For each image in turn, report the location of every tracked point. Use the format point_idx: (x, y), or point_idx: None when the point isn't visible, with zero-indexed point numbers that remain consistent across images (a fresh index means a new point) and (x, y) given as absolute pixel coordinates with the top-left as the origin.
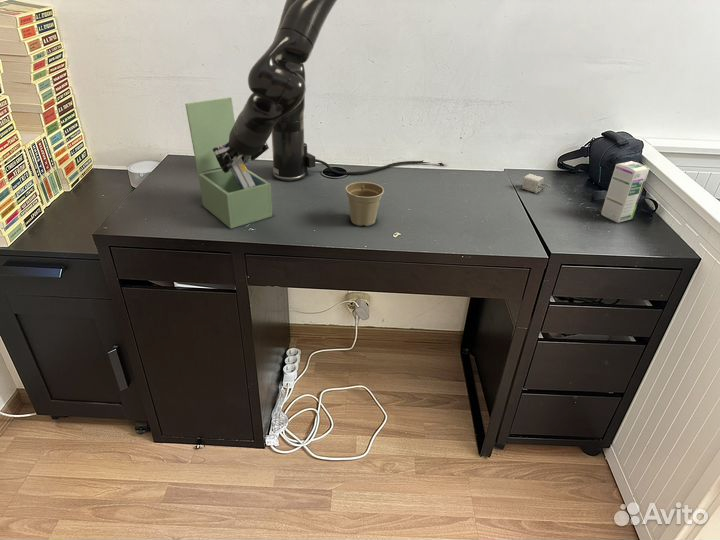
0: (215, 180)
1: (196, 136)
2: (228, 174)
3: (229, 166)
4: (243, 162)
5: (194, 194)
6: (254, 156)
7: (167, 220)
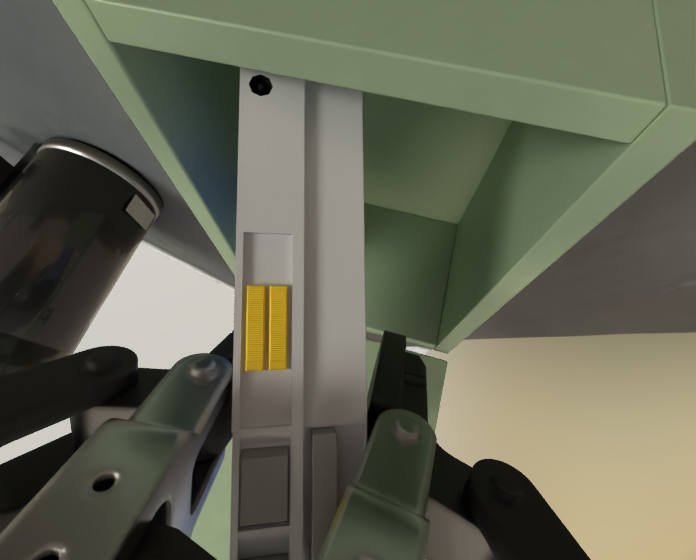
0: (388, 291)
1: None
2: None
3: (408, 418)
4: (233, 389)
5: None
6: (45, 410)
7: (676, 238)
